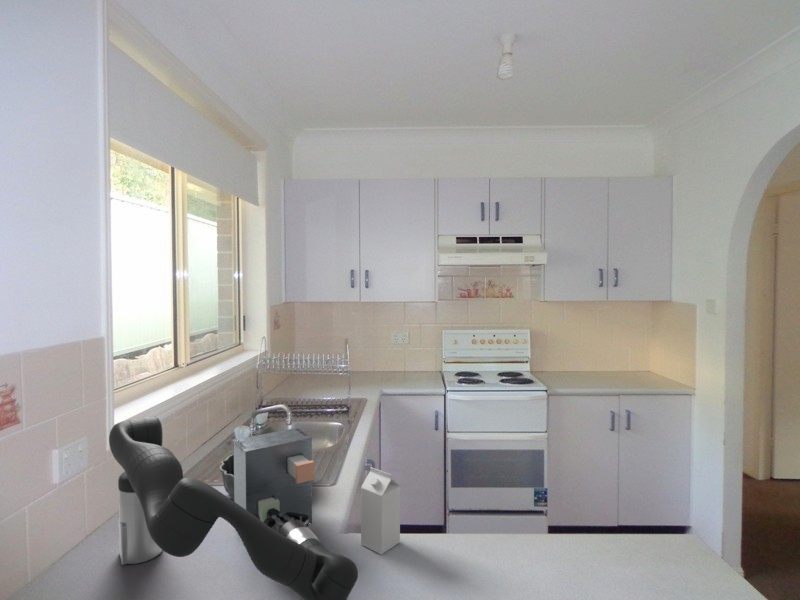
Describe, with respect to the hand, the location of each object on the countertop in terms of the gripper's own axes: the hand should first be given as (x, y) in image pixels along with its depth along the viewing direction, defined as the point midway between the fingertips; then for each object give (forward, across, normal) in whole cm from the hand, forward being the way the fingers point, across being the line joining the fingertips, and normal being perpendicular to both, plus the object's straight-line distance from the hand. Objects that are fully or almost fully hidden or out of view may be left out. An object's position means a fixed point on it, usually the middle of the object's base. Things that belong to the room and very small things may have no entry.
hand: (270, 512), depth 119 cm
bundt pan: (+30, -9, +9) cm, 32 cm away
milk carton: (-15, -23, +9) cm, 29 cm away
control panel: (+9, -4, +9) cm, 13 cm away
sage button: (+5, 0, +2) cm, 5 cm away
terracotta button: (+1, -8, -7) cm, 11 cm away
